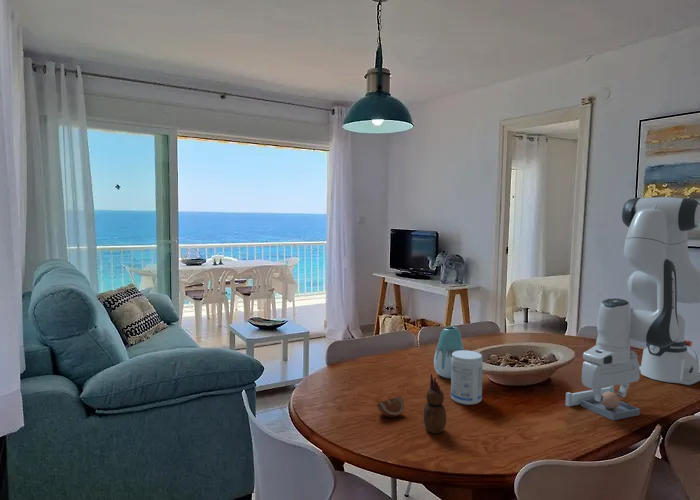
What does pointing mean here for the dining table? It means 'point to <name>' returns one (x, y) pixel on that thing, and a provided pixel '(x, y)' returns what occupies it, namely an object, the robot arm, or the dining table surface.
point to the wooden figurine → (434, 409)
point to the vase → (447, 350)
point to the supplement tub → (466, 377)
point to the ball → (610, 400)
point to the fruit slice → (391, 407)
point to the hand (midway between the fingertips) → (610, 398)
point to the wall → (584, 396)
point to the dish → (613, 414)
